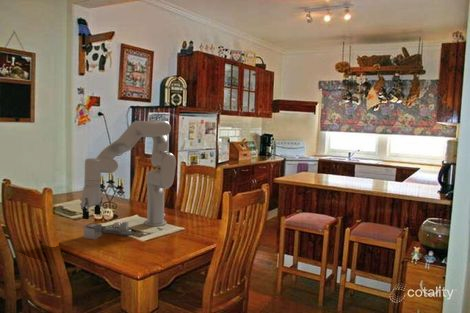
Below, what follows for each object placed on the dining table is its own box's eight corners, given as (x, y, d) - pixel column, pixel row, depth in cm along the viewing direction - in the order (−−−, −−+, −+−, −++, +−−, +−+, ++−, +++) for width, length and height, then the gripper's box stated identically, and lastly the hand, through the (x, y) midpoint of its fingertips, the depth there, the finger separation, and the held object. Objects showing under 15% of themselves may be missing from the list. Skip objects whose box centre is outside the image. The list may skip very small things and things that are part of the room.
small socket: (116, 228, 207) (116, 222, 207) (122, 228, 206) (122, 222, 206) (112, 230, 204) (112, 223, 203) (118, 230, 203) (118, 224, 203)
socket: (91, 234, 195) (91, 223, 195) (101, 235, 194) (101, 224, 193) (84, 237, 189) (84, 226, 189) (94, 239, 188) (94, 227, 188)
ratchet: (93, 228, 205) (93, 216, 205) (133, 233, 200) (133, 221, 199) (86, 231, 199) (86, 220, 198) (127, 236, 194) (127, 224, 193)
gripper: (95, 180, 198) (95, 212, 199) (74, 184, 181) (74, 219, 183) (108, 181, 196) (107, 213, 198) (88, 186, 179) (87, 221, 181)
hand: (91, 216), depth 190 cm, fingers open, 9 cm apart
